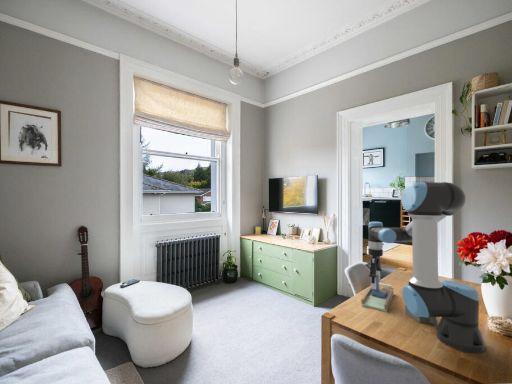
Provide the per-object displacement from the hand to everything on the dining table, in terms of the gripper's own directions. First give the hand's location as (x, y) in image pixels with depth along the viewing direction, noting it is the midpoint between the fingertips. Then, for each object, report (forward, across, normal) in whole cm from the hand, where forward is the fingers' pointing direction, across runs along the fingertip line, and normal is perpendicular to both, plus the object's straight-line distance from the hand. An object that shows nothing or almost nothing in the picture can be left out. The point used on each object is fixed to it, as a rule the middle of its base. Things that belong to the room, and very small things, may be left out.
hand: (375, 285), depth 145 cm
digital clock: (+7, -14, -22) cm, 27 cm away
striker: (+5, 0, -2) cm, 6 cm away
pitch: (+7, -4, -2) cm, 8 cm away
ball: (+4, +5, -4) cm, 7 cm away
